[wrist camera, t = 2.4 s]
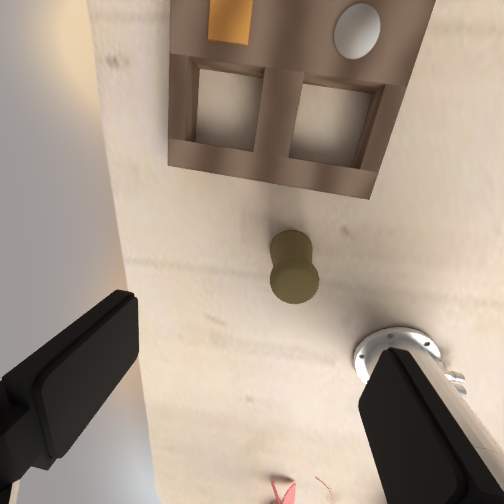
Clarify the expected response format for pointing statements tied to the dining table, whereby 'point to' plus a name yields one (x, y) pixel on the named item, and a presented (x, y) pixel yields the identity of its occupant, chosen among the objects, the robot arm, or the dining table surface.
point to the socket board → (293, 79)
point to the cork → (293, 267)
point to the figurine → (289, 494)
